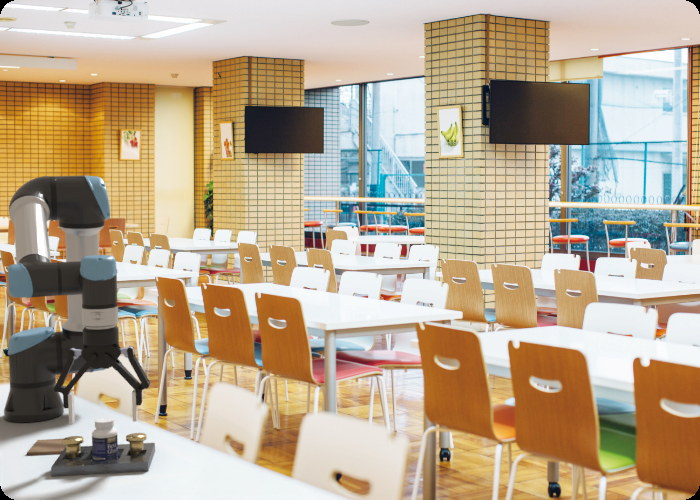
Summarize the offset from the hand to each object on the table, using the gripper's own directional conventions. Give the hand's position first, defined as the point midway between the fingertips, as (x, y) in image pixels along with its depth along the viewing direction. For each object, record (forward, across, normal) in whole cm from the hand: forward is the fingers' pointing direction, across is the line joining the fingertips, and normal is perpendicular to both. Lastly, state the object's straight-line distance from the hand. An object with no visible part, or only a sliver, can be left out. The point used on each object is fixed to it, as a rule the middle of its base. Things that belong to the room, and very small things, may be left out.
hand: (103, 421), depth 185 cm
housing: (+9, 0, -1) cm, 9 cm away
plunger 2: (+7, +7, -1) cm, 10 cm away
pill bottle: (+10, 0, -1) cm, 10 cm away
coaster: (+10, -14, +13) cm, 21 cm away
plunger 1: (+7, -7, -1) cm, 10 cm away
